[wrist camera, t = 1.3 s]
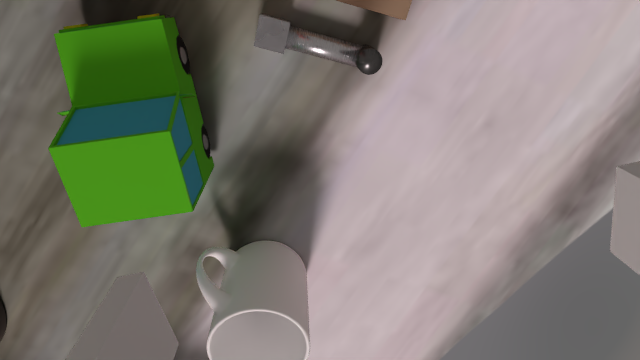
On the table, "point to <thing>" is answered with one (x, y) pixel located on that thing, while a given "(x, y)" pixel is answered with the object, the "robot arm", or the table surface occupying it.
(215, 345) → the mug
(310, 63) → the table surface
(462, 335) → the table surface
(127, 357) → the robot arm
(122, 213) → the toy car
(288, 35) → the crank handle
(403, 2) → the bay
